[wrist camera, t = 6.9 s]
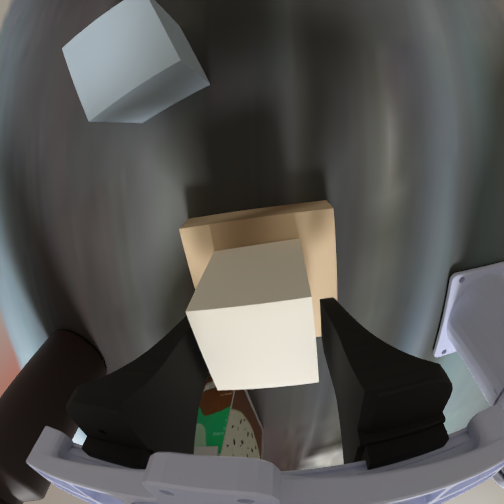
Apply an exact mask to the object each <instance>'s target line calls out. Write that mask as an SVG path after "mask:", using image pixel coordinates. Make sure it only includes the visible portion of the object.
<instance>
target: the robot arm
mask: <svg viewBox="0 0 504 504" xmlns="http://www.w3.org/2000/svg"><path fill="white" fill-rule="evenodd" d="M461 277H462V278H461ZM460 278H461V279H460ZM320 315H321V336H322V342H323V348H324V354H325V357H326V361H327V365H328V368H329V372H330V375H331V379H332V382H333V386H334V389H335V394H336V398H337V405H338V412H339V419H340V427H341V436H342V446H343V458H344V464H343V465H337V466H331V467H323V468H315V469H306V470H295V471H281V472H280V470H279V469H278V468H277V467H276V466H275V465H274V464H273V463H271V462H269V461H265V460H262V459H259V458H250V457H231V456H208V455H195V454H194V444H195V433H196V424H197V417H198V410H199V405H200V400H201V397H202V393H203V389H204V386H205V382H206V379H207V375H208V372H209V370H208V367H207V365H206V362H205V360H204V358H203V355H202V353H201V350H200V348H199V345H198V343H197V341H196V338H195V335H194V333H193V330H192V328H191V325H190V323H189V320H188V317H187V316H186V317H185V318H184V319H183V320H182V321H181V322H179V323H178V324H177V325H176V326H175V327H174V328H173V329H172V330H171V331H170V332H169V333H168V334H167V335H166V336H165V337H164V338H162V339H161V340H160V341H159V342H158V343H157V344H155V345H154V346H153V347H152V348H151V349H149V350H148V351H147V352H145V353H144V354H143V355H141V356H140V357H138V358H137V359H136V360H134V361H132V362H131V363H129V364H127V365H125V366H124V367H122V368H120V369H119V370H117V371H115V372H112V373H110V374H108V375H106V376H104V377H101V378H99V379H96V380H93V381H90V382H87V383H84V384H81V385H78V386H77V388H76V389H75V391H74V393H73V394H72V396H71V398H70V399H69V401H68V402H67V404H66V410H67V412H68V414H69V416H70V417H71V418H72V420H73V421H74V422H75V423H76V424H77V425H78V426H79V428H80V429H81V430H82V431H83V432H84V433H85V434H86V435H87V438H86V440H85V442H84V444H83V446H82V445H79V444H76V443H73V441H72V440H71V439H70V438H69V437H68V436H67V435H66V434H64V433H63V432H61V431H59V430H56V429H54V428H51V427H48V426H45V428H44V430H43V431H42V433H41V435H40V437H39V438H38V440H37V442H36V444H35V445H34V447H33V449H32V451H31V453H30V454H29V456H28V458H27V460H26V463H27V464H28V465H29V466H31V467H32V468H33V469H34V470H35V471H37V472H38V473H39V474H40V475H42V476H43V477H44V478H46V479H47V480H48V481H50V482H51V483H52V484H54V485H55V486H57V487H58V488H60V489H62V490H63V491H66V492H68V493H70V494H72V495H74V496H76V497H78V498H80V499H82V500H84V501H86V502H88V503H91V504H442V503H444V502H446V501H448V500H450V499H452V498H454V497H456V496H458V495H460V494H462V493H464V492H466V491H468V490H470V489H472V488H474V487H475V486H477V485H479V484H481V483H483V482H485V481H486V480H488V479H490V478H491V477H492V479H493V480H494V481H495V482H496V483H497V484H498V485H499V486H501V487H502V488H503V489H504V262H500V263H496V264H492V265H487V266H483V267H479V268H474V269H470V270H466V271H461V272H456V273H454V274H453V275H452V276H451V277H450V280H449V286H448V292H447V297H446V302H445V307H444V312H443V316H442V320H441V325H440V329H439V333H438V336H437V340H436V344H435V347H434V351H433V354H434V356H435V357H440V356H443V355H446V354H450V353H453V352H456V351H457V352H458V354H459V356H460V357H461V359H462V360H463V362H464V363H465V365H466V367H467V368H468V370H469V371H470V373H471V375H472V376H473V378H474V380H475V381H476V383H477V385H478V386H479V388H480V390H481V391H482V393H483V395H484V397H485V399H486V400H487V402H488V404H489V406H490V408H488V409H486V410H484V411H482V412H480V413H478V414H476V415H475V416H474V417H473V418H472V419H471V420H470V422H469V423H468V425H467V427H466V428H464V429H461V430H459V431H457V432H454V433H452V434H449V435H448V434H447V431H446V429H445V426H444V424H443V423H444V422H445V416H444V414H443V410H444V408H445V406H446V404H447V402H448V400H449V398H450V396H451V393H452V390H453V389H452V383H451V381H450V380H449V378H448V376H447V374H446V372H445V371H444V370H443V368H442V367H441V365H440V364H438V363H434V362H430V361H427V360H423V359H420V358H417V357H415V356H412V355H409V354H407V353H405V352H402V351H400V350H398V349H396V348H394V347H392V346H390V345H389V344H387V343H385V342H383V341H382V340H380V339H379V338H377V337H376V336H374V335H373V334H371V333H370V332H369V331H368V330H366V329H365V328H364V327H363V326H362V325H360V324H359V323H358V322H357V321H356V320H355V319H354V318H353V317H352V316H351V315H350V314H349V313H348V312H347V311H346V310H345V309H344V308H343V307H342V306H341V305H340V304H339V303H338V301H337V300H336V299H335V298H333V297H331V298H324V299H320Z"/></svg>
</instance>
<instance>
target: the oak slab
mask: <svg viewBox="0 0 504 504" xmlns="http://www.w3.org/2000/svg"><path fill="white" fill-rule="evenodd" d="M179 231H180V235H181V239H182V243H183V247H184V250H185V254H186V258H187V262H188V266H189V269H190V273H191V277H192V280H193V284H194V288H195V290H196V288H197V286H198V284H199V281H200V279H201V277H202V275H203V273H204V271H205V269H206V267H207V265H208V263H209V260H210V258H211V256H212V254H213V252H214V251H219V250H226V249H232V248H239V247H245V246H252V245H258V244H265V243H271V242H278V241H284V240H291V239H298V238H299V239H300V243H301V248H302V252H303V257H304V262H305V266H306V271H307V276H308V281H309V286H310V291H311V296H312V305H313V315H314V326H315V337H319V336H321V315H320V299H324V298H331V297H333V298H335V299H336V300H337V266H336V242H335V224H334V210H333V207H332V206H331V205H330V204H329V203H328V201H327V200H323V201H314V202H305V203H297V204H288V205H280V206H273V207H265V208H257V209H250V210H243V211H236V212H229V213H222V214H215V215H209V216H202V217H196V218H190V219H188V220H187V221H186V222H185V223H184V224H183V225H182V226H181V227H180V229H179Z"/></svg>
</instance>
